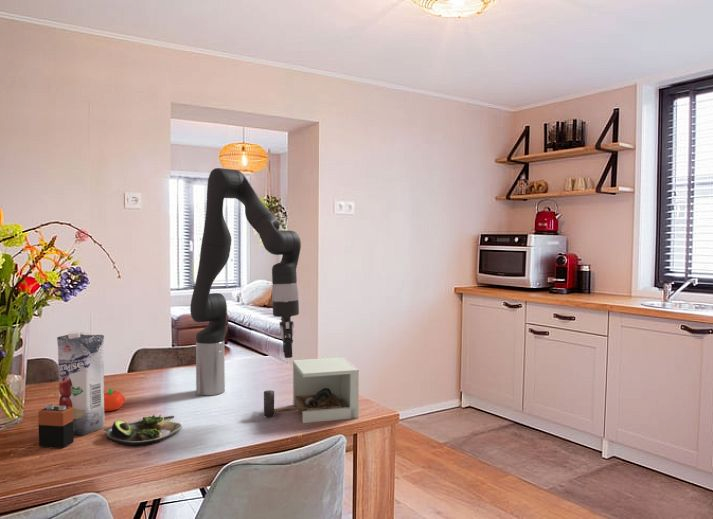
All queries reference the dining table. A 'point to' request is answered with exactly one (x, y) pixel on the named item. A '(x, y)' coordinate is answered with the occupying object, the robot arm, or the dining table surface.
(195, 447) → the dining table surface
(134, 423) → the salad plate
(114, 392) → the tomato
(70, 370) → the juice carton
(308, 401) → the eagle figurine
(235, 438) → the dining table surface
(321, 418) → the cubby
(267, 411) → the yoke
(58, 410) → the battery
